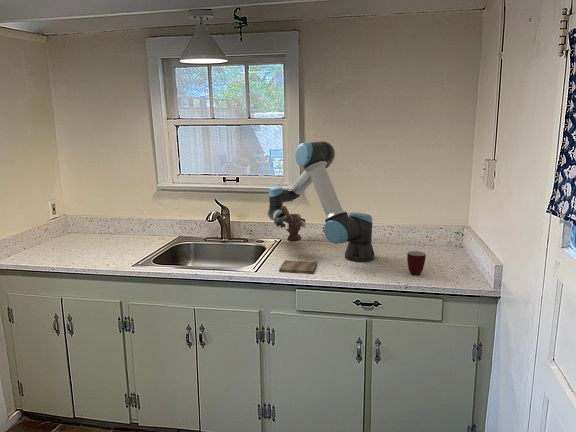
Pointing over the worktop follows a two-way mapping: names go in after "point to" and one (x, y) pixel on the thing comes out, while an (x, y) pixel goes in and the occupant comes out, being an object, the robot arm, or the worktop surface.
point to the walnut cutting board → (298, 266)
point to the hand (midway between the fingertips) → (296, 225)
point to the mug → (416, 262)
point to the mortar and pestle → (292, 224)
